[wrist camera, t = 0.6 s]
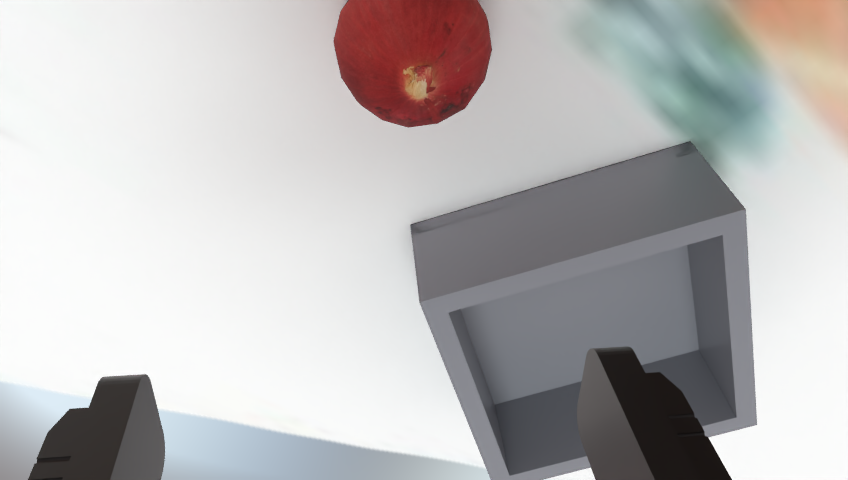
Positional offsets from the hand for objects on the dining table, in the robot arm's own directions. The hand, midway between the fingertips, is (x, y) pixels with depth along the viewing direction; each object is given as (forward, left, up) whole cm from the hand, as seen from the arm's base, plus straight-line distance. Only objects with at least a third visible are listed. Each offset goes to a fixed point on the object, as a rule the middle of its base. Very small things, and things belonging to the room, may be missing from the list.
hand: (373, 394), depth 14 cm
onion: (-2, 0, -21) cm, 21 cm away
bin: (-6, +17, -21) cm, 28 cm away
